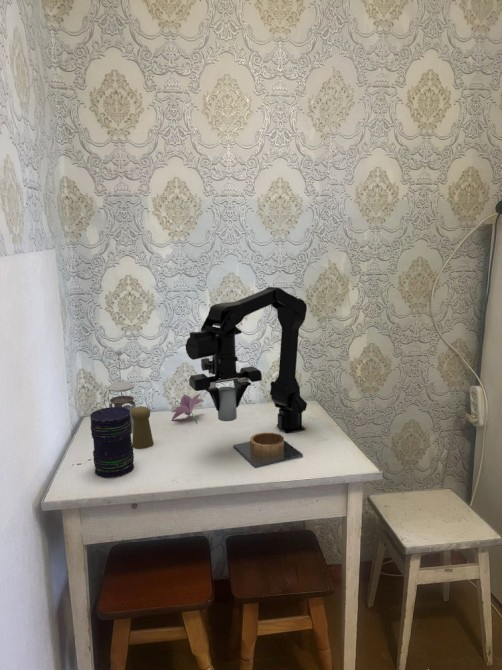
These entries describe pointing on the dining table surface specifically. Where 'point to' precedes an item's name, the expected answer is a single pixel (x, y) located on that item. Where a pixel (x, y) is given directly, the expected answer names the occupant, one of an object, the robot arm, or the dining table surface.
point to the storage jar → (112, 442)
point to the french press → (121, 400)
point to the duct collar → (267, 449)
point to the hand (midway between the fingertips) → (227, 408)
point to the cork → (141, 428)
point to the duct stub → (227, 404)
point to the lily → (186, 406)
